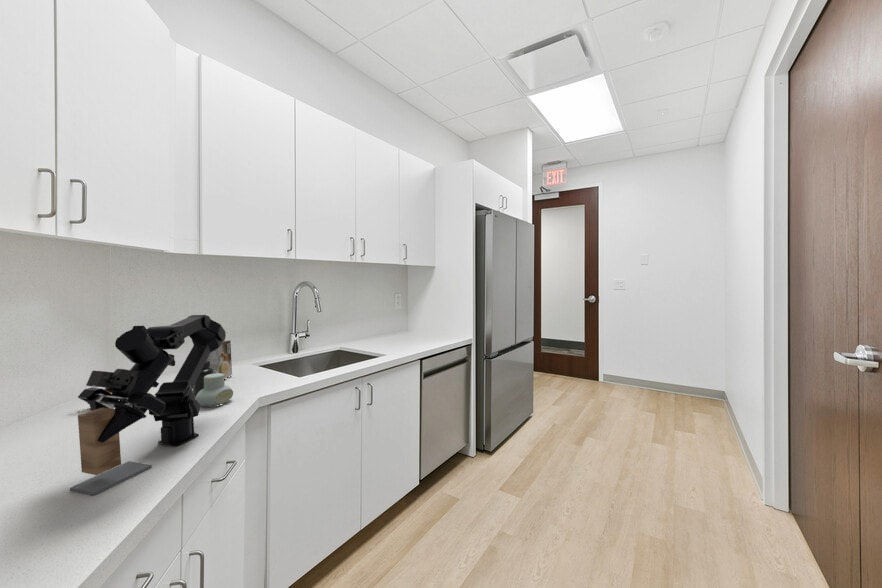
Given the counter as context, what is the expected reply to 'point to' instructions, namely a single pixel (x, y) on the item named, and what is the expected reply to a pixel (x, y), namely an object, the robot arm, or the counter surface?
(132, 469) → the rubber mat
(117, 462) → the walnut block
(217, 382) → the air freshener
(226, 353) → the coffee box
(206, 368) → the supplement bottle
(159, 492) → the counter surface
